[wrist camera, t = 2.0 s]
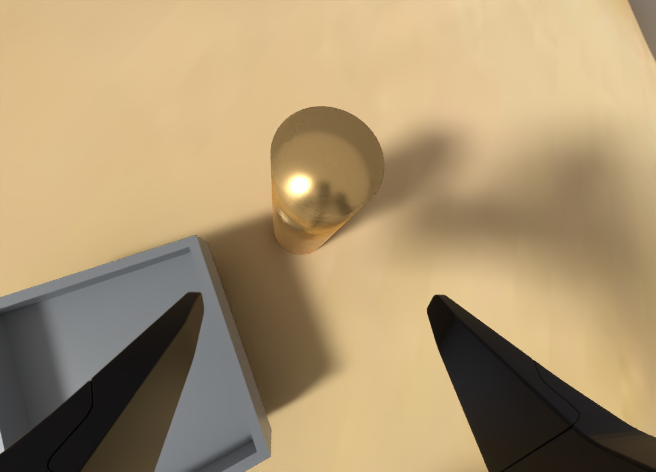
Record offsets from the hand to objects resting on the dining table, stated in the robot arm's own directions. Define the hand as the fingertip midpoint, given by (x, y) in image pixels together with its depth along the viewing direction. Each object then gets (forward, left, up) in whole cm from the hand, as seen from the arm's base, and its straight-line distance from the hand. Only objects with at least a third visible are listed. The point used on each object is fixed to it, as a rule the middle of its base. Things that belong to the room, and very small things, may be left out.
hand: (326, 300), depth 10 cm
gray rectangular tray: (+1, +11, -12) cm, 16 cm away
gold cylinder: (+5, -3, -12) cm, 13 cm away
